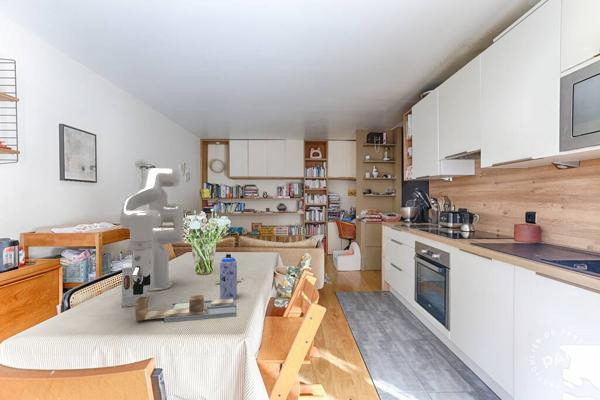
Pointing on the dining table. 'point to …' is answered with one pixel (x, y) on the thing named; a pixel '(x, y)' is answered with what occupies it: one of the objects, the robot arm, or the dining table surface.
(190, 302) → the walnut block
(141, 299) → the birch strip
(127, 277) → the supplement box
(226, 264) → the aerosol can
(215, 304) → the broken strip
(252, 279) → the dining table surface
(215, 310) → the slate board
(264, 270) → the dining table surface
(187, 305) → the felt coaster
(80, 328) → the dining table surface
